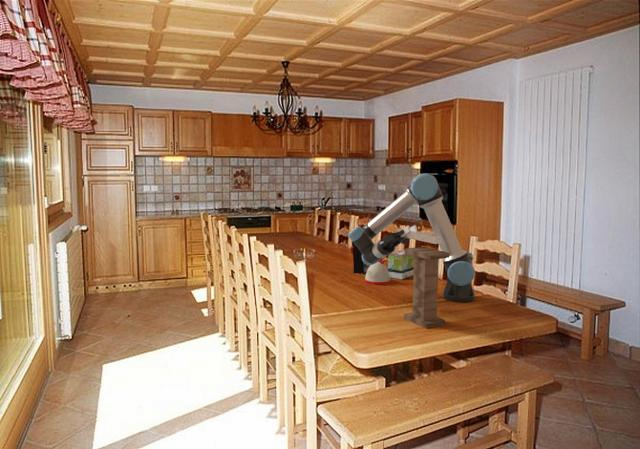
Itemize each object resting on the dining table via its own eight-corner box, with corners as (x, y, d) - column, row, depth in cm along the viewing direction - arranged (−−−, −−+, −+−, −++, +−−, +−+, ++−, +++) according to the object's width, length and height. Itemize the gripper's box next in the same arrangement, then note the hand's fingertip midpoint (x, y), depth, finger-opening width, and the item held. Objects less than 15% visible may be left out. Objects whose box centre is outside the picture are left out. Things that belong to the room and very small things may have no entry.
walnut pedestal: (446, 325, 197) (449, 252, 194) (427, 329, 193) (430, 254, 189) (420, 314, 211) (423, 246, 208) (402, 317, 207) (404, 248, 203)
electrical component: (367, 274, 289) (367, 241, 287) (350, 273, 291) (350, 240, 289) (370, 268, 306) (370, 236, 304) (354, 267, 308) (354, 236, 306)
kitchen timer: (374, 278, 280) (374, 252, 278) (394, 281, 271) (395, 255, 269) (360, 282, 269) (360, 255, 267) (381, 286, 260) (382, 259, 258)
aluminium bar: (441, 243, 192) (441, 236, 192) (435, 244, 191) (435, 236, 191) (402, 235, 214) (402, 228, 214) (396, 235, 213) (397, 228, 213)
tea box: (402, 279, 275) (403, 254, 274) (387, 277, 281) (387, 252, 280) (414, 275, 287) (415, 250, 285) (399, 272, 293) (400, 248, 292)
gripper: (400, 254, 227) (430, 235, 208) (371, 257, 220) (399, 237, 200) (395, 239, 230) (424, 219, 210) (367, 241, 222) (394, 220, 203)
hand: (412, 228), depth 205 cm, fingers closed on aluminium bar, 3 cm apart
